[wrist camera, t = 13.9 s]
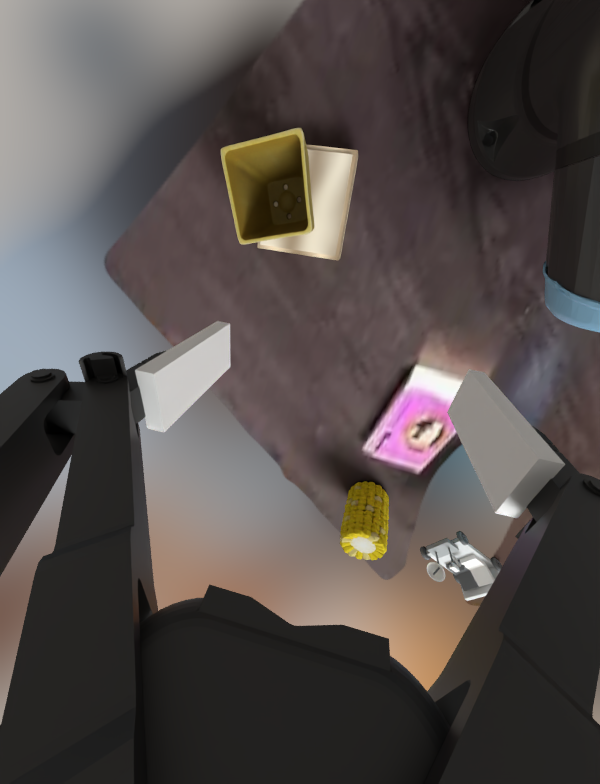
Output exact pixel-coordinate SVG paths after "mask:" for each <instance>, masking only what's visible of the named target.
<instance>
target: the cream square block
mask: <svg viewBox="0 0 600 784" xmlns="http://www.w3.org/2000/svg"><path fill="white" fill-rule="evenodd" d="M306 146H307V150H308V156H309V171H310V183H311V195H312V206H313V216H314V229H313V231H312V232H311V233H309V234H306V235H299V236H292V237H285V238H279V239H273V240H267V241H261V242H258V248H262V249H268V250H275V251H281V252H288V253H294V254H301V255H307V256H314V257H320V258H326V259H333V260H339V259H340V256H341V250H342V245H343V239H344V233H345V228H346V222H347V217H348V211H349V206H350V200H351V194H352V189H353V183H354V178H355V172H356V167H357V161H358V150H351V149H342V148H333V147H324V146H315V145H306ZM287 188H288V186H287V185H286V184H285V185H284V189H285V190H287ZM297 201H298V202H301V198H300V197H298V198H297ZM274 206H275V207H277V206H278V203H277V202H274ZM287 217H288V218H289V219H290V218H291V214H288V215H287Z"/></svg>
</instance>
